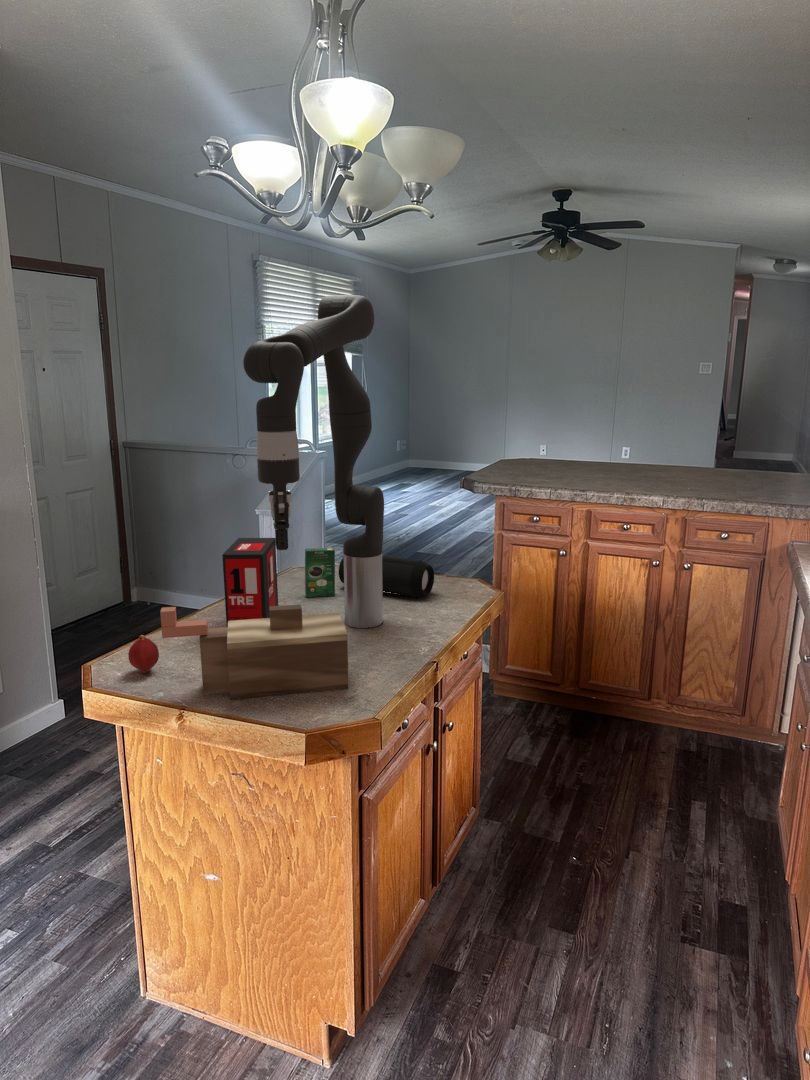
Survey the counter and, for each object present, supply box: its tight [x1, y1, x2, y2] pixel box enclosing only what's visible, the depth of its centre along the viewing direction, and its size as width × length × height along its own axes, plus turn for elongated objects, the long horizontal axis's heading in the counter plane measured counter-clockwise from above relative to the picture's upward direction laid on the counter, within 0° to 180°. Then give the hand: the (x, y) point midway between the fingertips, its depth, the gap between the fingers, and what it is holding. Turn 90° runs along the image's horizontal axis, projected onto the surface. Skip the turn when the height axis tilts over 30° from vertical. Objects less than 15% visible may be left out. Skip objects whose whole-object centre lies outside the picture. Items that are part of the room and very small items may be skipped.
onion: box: [128, 634, 160, 674], centre depth 147 cm, size 6×6×8 cm
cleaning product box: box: [222, 537, 279, 627], centre depth 171 cm, size 16×9×20 cm, turn 0°
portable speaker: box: [338, 555, 435, 598], centre depth 200 cm, size 26×10×10 cm, turn 63°
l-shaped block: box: [159, 606, 209, 639], centre depth 136 cm, size 3×8×5 cm, turn 102°
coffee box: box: [304, 547, 336, 598], centre depth 196 cm, size 8×3×13 cm, turn 102°
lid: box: [227, 604, 349, 650], centre depth 140 cm, size 13×22×6 cm, turn 102°
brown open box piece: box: [199, 626, 349, 701], centre depth 141 cm, size 12×27×11 cm, turn 102°
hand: (282, 547), depth 137 cm, fingers closed
